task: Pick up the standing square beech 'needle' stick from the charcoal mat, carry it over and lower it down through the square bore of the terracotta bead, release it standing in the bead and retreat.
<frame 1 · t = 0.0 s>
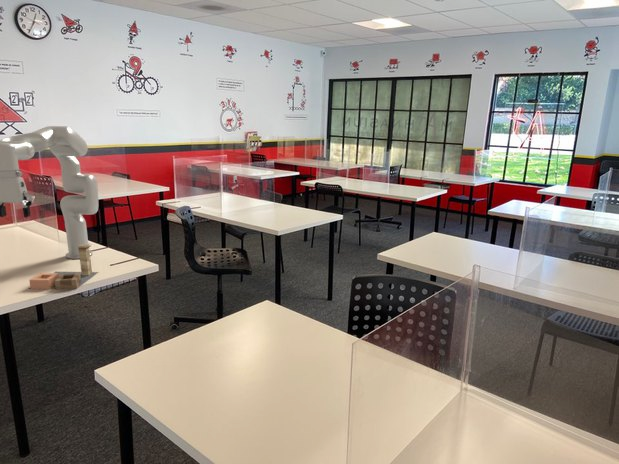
hand: (15, 216, 182), 31 cm above the table, fingers open, 9 cm apart
charcoal mat: (65, 280, 198), on the table
terracotta bead: (45, 285, 192), resting on charcoal mat
beech needle: (87, 274, 205), resting on charcoal mat
walnut bead: (68, 285, 192), resting on charcoal mat
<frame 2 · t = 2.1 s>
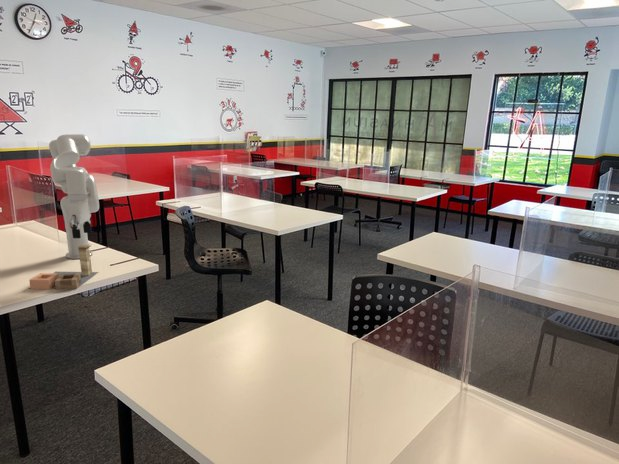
hand: (82, 235, 200), 19 cm above the table, fingers open, 9 cm apart
nothing on the table moved.
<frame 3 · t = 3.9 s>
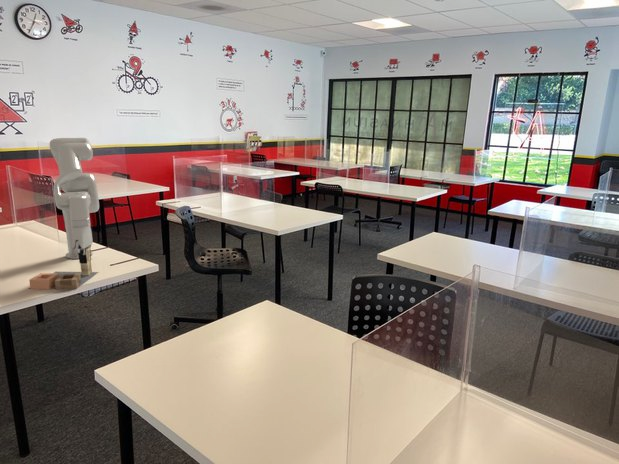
hand: (85, 261, 204), 7 cm above the table, fingers closed on beech needle, 3 cm apart
beech needle: (87, 274, 205), resting on charcoal mat, touching gripper
everything else where it was.
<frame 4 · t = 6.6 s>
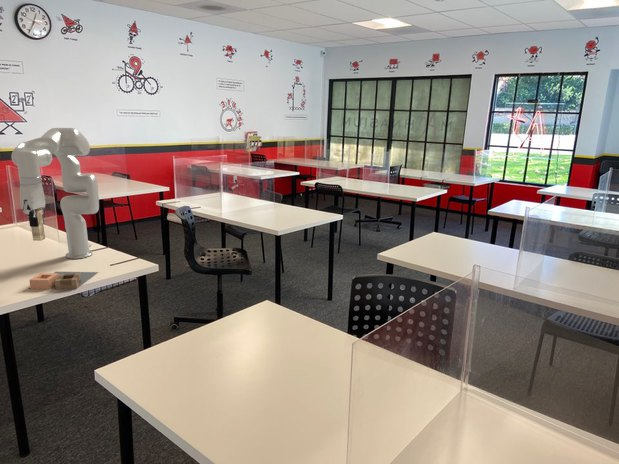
hand: (37, 225, 185), 27 cm above the table, fingers closed on beech needle, 3 cm apart
beech needle: (39, 239, 186), point 21 cm above the table, touching gripper
everything else where it was.
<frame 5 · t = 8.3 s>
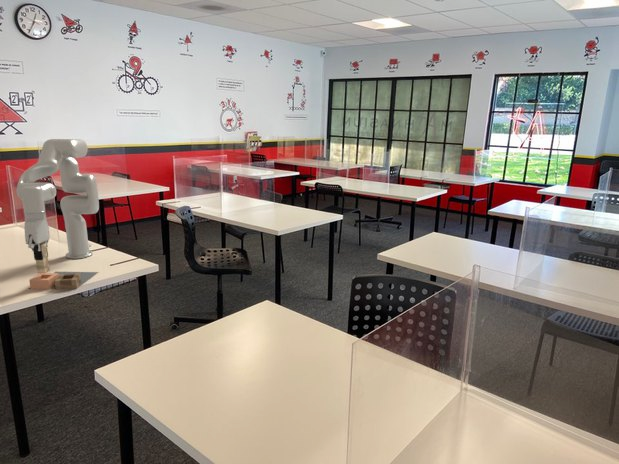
hand: (41, 258, 188), 13 cm above the table, fingers closed on beech needle, 3 cm apart
beech needle: (43, 271, 190), point 7 cm above the table, touching gripper
everything else where it was.
when the fingers open (8 cm above the table, at t = 9.4 s): beech needle drops 2 cm, resting on charcoal mat.
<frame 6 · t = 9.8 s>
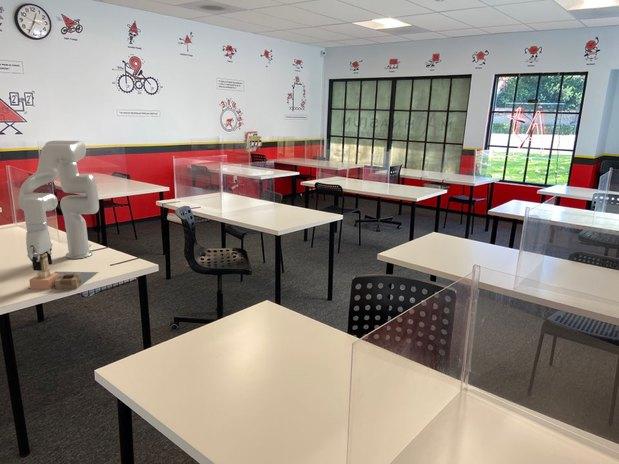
hand: (42, 266, 190), 9 cm above the table, fingers open, 7 cm apart
beech needle: (45, 285, 192), resting on charcoal mat
everything else where it was.
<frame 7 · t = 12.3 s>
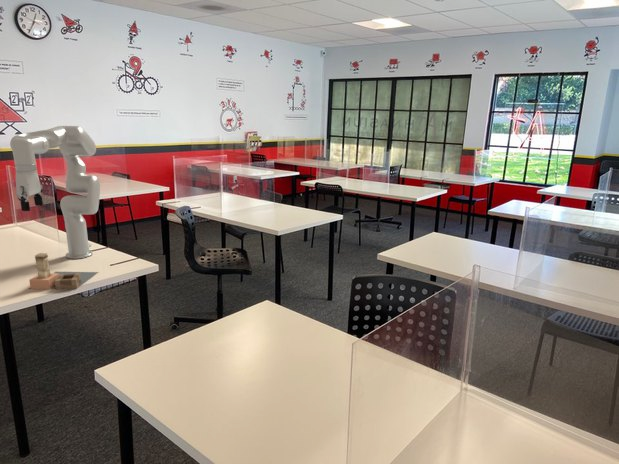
hand: (32, 208, 191), 32 cm above the table, fingers open, 9 cm apart
nothing on the table moved.
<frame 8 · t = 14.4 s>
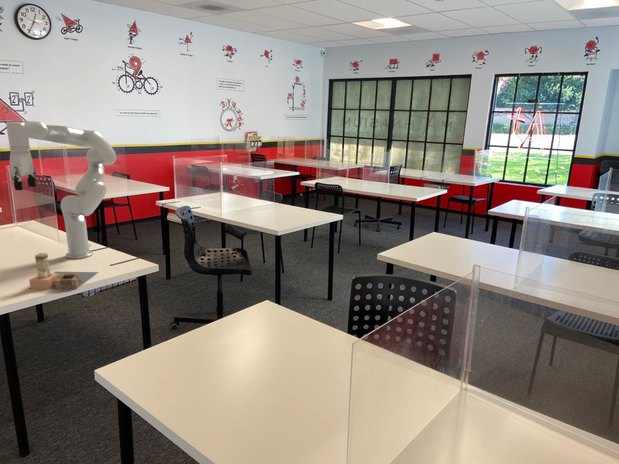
hand: (25, 188, 204), 38 cm above the table, fingers open, 9 cm apart
nothing on the table moved.
at the end: beech needle 0.1 cm off-centre on the terracotta bead, point 0.0 cm above the terracotta bead's base; beech needle tilted 0°; the gripper is holding nothing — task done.
